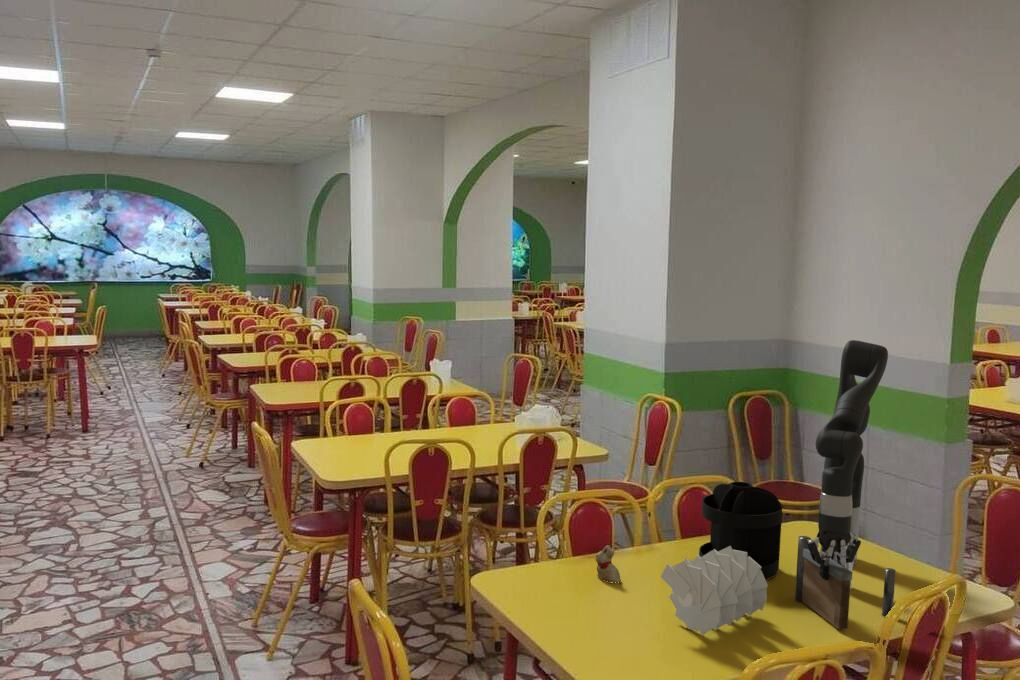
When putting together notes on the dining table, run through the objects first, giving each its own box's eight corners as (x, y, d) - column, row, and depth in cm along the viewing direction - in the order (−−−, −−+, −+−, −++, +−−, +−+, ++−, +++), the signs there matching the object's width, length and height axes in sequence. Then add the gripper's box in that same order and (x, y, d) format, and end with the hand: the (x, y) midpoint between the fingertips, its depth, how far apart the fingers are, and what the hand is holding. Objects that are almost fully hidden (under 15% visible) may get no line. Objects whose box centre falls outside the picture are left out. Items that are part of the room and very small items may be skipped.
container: (744, 551, 261) (748, 471, 258) (793, 578, 240) (799, 492, 237) (682, 559, 253) (686, 476, 251) (727, 587, 232) (732, 498, 229)
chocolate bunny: (611, 573, 240) (613, 538, 239) (622, 583, 233) (624, 548, 232) (593, 574, 239) (594, 540, 238) (604, 585, 231) (605, 549, 230)
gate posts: (795, 597, 226) (799, 535, 225) (892, 614, 217) (896, 549, 215) (794, 601, 223) (798, 538, 222) (892, 618, 214) (897, 553, 213)
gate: (810, 600, 223) (813, 548, 221) (848, 628, 206) (852, 572, 205) (799, 600, 222) (803, 548, 221) (837, 629, 205) (841, 572, 204)
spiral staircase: (756, 631, 214) (696, 654, 198) (706, 582, 226) (645, 600, 210) (790, 576, 207) (730, 596, 191) (737, 528, 219) (676, 543, 203)
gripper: (853, 505, 214) (849, 572, 215) (801, 507, 211) (797, 574, 213) (870, 514, 206) (866, 583, 208) (816, 516, 204) (812, 586, 206)
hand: (831, 578), depth 210 cm, fingers closed on gate, 3 cm apart
